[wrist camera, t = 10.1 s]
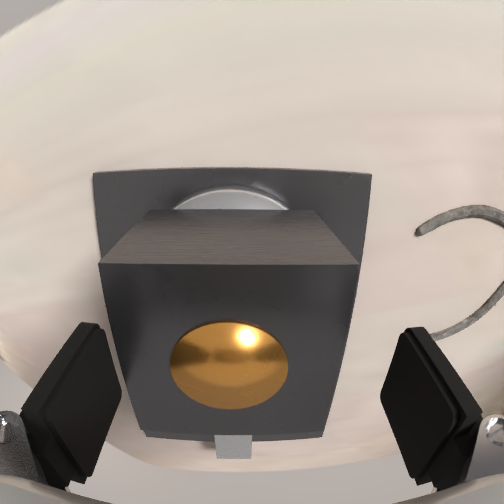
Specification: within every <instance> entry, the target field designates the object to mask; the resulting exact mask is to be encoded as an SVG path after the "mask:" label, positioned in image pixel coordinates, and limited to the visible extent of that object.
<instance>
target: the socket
mask: <svg viewBox="0 0 504 504" xmlns="http://www.w3.org/2000/svg"><path fill="white" fill-rule="evenodd" d="M98 266H99V272H100V277H101V283H102V288H103V293H104V299H105V303H106V308H107V313H108V318H109V322H110V326H111V331H112V335H113V339H114V343H115V347H116V351H117V355H118V358H119V362H120V366H121V369H122V373H123V376H124V380H125V383H126V387H127V390H128V393H129V396H130V400H131V403H132V406H133V409H134V412H135V415H136V418H137V421H138V424H139V426H140V429H141V430H148V431H158V432H169V433H182V434H201V435H273V434H291V433H305V432H316V431H323V429H324V425H325V422H326V418H327V415H328V411H329V407H330V404H331V400H332V396H333V392H334V388H335V384H336V380H337V376H338V372H339V368H340V364H341V359H342V355H343V351H344V346H345V341H346V337H347V332H348V327H349V322H350V317H351V312H352V307H353V301H354V296H355V290H356V284H357V278H358V272H359V266H360V264H359V263H358V262H357V261H356V259H355V258H354V257H353V256H352V255H351V253H350V252H349V251H348V250H347V249H346V247H345V246H344V245H343V244H342V243H341V242H340V240H339V239H338V238H337V237H336V236H335V235H334V233H333V232H332V231H331V230H330V229H329V228H328V226H327V225H326V224H325V223H324V222H323V221H322V220H321V218H320V217H319V216H318V215H317V214H316V213H315V212H314V211H313V210H267V209H165V210H149V211H148V212H147V213H146V214H145V215H144V216H143V217H142V218H141V219H140V220H139V221H138V222H137V223H136V224H135V225H134V226H133V227H132V228H131V229H130V230H129V231H128V232H127V233H126V234H125V235H124V236H123V237H122V238H121V239H120V240H119V241H118V242H117V244H116V245H115V246H114V247H113V248H112V249H111V250H110V251H109V252H108V253H107V254H106V255H105V256H104V257H103V258H102V259H101V260H100V262H99V263H98Z"/></svg>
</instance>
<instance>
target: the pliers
mask: <svg viewBox="0 0 504 504" xmlns="http://www.w3.org/2000/svg"><path fill="white" fill-rule="evenodd" d="M468 217H482V218H487V219H490V220H493V221H495V222H497V223H499V224H501V225H503V226H504V212H503V211H501V210H499V209H496V208H493V207H490V206H486V205H470V206H463V207H460V208H456V209H452V210H449V211H447V212H444V213H442V214H439V215H437V216H435V217H433V218H432V219H430V220H428V221H426V222H425V223H423V224H422V225H420V226H419V227H418V228H417V230H416V233H417V234H418V235H421V236H422V235H424V234H426V233H428V232H430V231H432V230H434V229H436V228H437V227H439V226H441V225H443V224H446V223H448V222H451V221H453V220H458V219H462V218H468ZM503 295H504V281H503V282H502V284H501V285H500V286H499V287H498V288H497V290H496V291H495V292H494V293H493V294H492V295H491V297H490V298H489V299H488V300H487V301H486V302H485V303H484V304H483V305H482V306H481V307H480V308H479V309H478V310H477V311H475V312H474V313H473V314H472V315H470V316H469V317H467V318H466V319H464V320H463V321H461V322H459V323H458V324H456V325H454V326H452V327H450V328H447V329H445V330H443V331H440V332H436V333H433V334H430V336H431V337H432V338H433V340H434V341H437V340H440V339H443V338H446V337H448V336H451V335H453V334H455V333H457V332H459V331H461V330H463V329H465V328H467V327H468V326H470V325H471V324H473V323H475V322H476V321H477V320H479V319H480V318H481V317H482V316H484V315H485V314H486V313H487V312H488V311H489V310H490V309H491V308H492V307H493V306H494V305H495V304H496V303H497V302H498V301H499V300H500V298H501V297H502V296H503Z"/></svg>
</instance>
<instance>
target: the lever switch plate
mask: <svg viewBox="0 0 504 504" xmlns="http://www.w3.org/2000/svg"><path fill="white" fill-rule="evenodd" d="M371 179H372V174H369V173H358V172H345V171H330V170H312V169H290V168H255V167H194V168H159V169H137V170H120V171H105V172H95V173H93V183H94V196H95V206H96V216H97V225H98V233H99V241H100V248H101V255H102V258H103V257H104V256H105V255H106V254H107V253H108V252H109V251H110V250H111V249H112V248H113V247H114V246H115V245H116V244H117V242H118V241H119V240H120V239H121V238H122V237H123V236H124V235H125V234H126V233H127V232H128V231H129V230H130V229H131V228H132V227H133V226H134V225H135V224H136V223H137V222H138V221H139V220H140V219H141V218H142V217H143V216H144V215H145V214H146V213H147V212H148V211H149V210H165V209H267V210H313V211H314V212H315V213H316V214H317V215H318V216H319V217H320V218H321V220H322V221H323V222H324V223H325V224H326V225H327V226H328V228H329V229H330V230H331V231H332V232H333V233H334V235H335V236H336V237H337V238H338V239H339V240H340V242H341V243H342V244H343V245H344V246H345V247H346V249H347V250H348V251H349V252H350V253H351V255H352V256H353V257H354V258H355V259H356V261H357V262H358V263H359V264H360V266H359V272H358V278H357V284H356V290H355V296H354V301H353V307H352V312H351V317H350V322H349V327H348V332H347V337H346V341H345V346H344V351H345V347H346V342H347V338H348V333H349V328H350V323H351V318H352V313H353V308H354V303H355V297H356V292H357V286H358V280H359V274H360V268H361V261H362V255H363V248H364V241H365V233H366V225H367V217H368V209H369V200H370V190H371ZM344 351H343V355H342V359H341V364H342V360H343V356H344ZM341 364H340V368H341ZM340 368H339V372H338V376H337V380H336V384H335V388H334V392H335V389H336V385H337V381H338V377H339V373H340ZM334 392H333V396H334ZM333 396H332V400H333ZM332 400H331V404H332ZM331 404H330V407H331ZM330 407H329V411H330ZM329 411H328V415H329ZM328 415H327V418H328ZM327 418H326V422H327ZM326 422H325V425H326ZM325 425H324V429H325ZM324 429H323V431H316V432H305V433H291V434H273V435H201V434H182V433H169V432H158V431H148V430H144V431H145V434H146V436H147V437H156V438H166V439H178V440H194V441H215V446H216V455H217V458H219V459H251V448H252V441H279V440H295V439H308V438H318V437H322V435H323V432H324Z"/></svg>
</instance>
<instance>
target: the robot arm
mask: <svg viewBox="0 0 504 504" xmlns="http://www.w3.org/2000/svg"><path fill="white" fill-rule="evenodd" d="M121 396H122V391H121V387H120V384H119V380H118V377H117V374H116V370H115V367H114V364H113V360H112V357H111V353H110V349H109V345H108V342H107V338H106V334H105V331H104V329H101V328H100V326H99V325H98V324H94V323H85V322H81V323H80V324H79V325H78V326H77V328H76V329H75V330H74V332H73V333H72V335H71V336H70V337H69V339H68V340H67V341H66V343H65V344H64V346H63V347H62V348H61V350H60V351H59V353H58V354H57V355H56V357H55V358H54V360H53V361H52V363H51V364H50V365H49V367H48V368H47V370H46V371H45V373H44V374H43V376H42V377H41V379H40V380H39V382H38V383H37V385H36V386H35V388H34V389H33V391H32V392H31V394H30V395H29V397H28V399H27V400H26V402H25V403H24V405H23V407H22V408H21V409H22V411H21V413H20V415H18V414H17V413H15V412H12V411H0V504H111V503H107V502H103V501H99V500H95V499H91V498H87V497H84V496H80V495H76V494H73V493H71V492H70V490H69V488H68V485H69V483H70V480H72V481H75V482H78V483H82V484H85V481H86V479H87V477H90V476H92V474H93V471H94V469H95V466H96V463H97V460H98V457H99V455H100V452H101V449H102V446H103V444H104V441H105V439H106V436H107V433H108V431H109V428H110V425H111V423H112V420H113V418H114V415H115V413H116V410H117V407H118V405H119V402H120V400H121ZM380 399H381V403H382V405H383V408H384V410H385V413H386V415H387V418H388V420H389V423H390V426H391V428H392V431H393V433H394V436H395V438H396V441H397V444H398V446H399V449H400V451H401V454H402V457H403V459H404V462H405V465H406V468H407V470H408V473H409V475H410V477H411V478H415V481H416V484H417V485H421V484H425V483H428V482H431V481H432V483H433V486H434V488H433V490H432V493H431V494H428V495H425V496H421V497H418V498H414V499H410V500H406V501H402V502H399V503H395V504H504V416H503V415H499V414H492V415H489V416H487V417H485V418H484V419H483V418H482V416H481V414H482V412H483V411H482V410H481V408H480V407H479V405H478V404H477V402H476V401H475V399H474V397H473V396H472V394H471V393H470V391H469V390H468V388H467V387H466V385H465V384H464V382H463V381H462V379H461V378H460V377H459V375H458V374H457V372H456V371H455V369H454V368H453V366H452V365H451V364H450V362H449V361H448V359H447V358H446V356H445V355H444V354H443V352H442V351H441V349H440V348H439V347H438V345H437V344H436V343H435V341H434V340H433V338H432V337H431V336H430V334H429V333H428V332H427V330H426V329H425V328H424V327H413V328H407V329H406V330H405V331H404V333H401V334H400V336H399V339H398V343H397V346H396V349H395V352H394V355H393V358H392V361H391V364H390V367H389V370H388V373H387V376H386V379H385V382H384V384H383V387H382V390H381V393H380Z"/></svg>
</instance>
